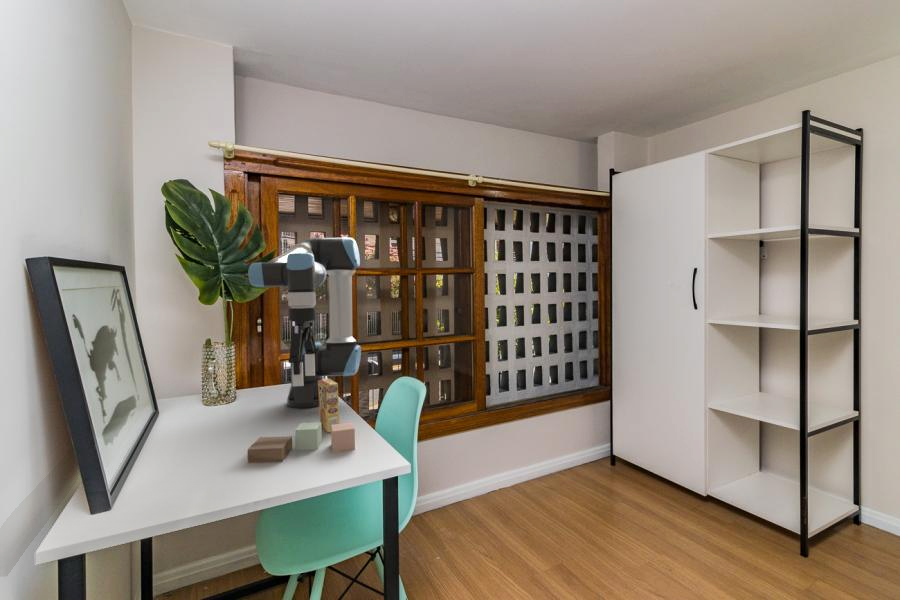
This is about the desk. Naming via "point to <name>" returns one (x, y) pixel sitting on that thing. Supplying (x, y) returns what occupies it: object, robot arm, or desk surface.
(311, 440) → the green cube
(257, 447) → the walnut plinth
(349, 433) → the terracotta cube
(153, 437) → the desk surface
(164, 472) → the desk surface
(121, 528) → the desk surface
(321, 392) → the candy box
